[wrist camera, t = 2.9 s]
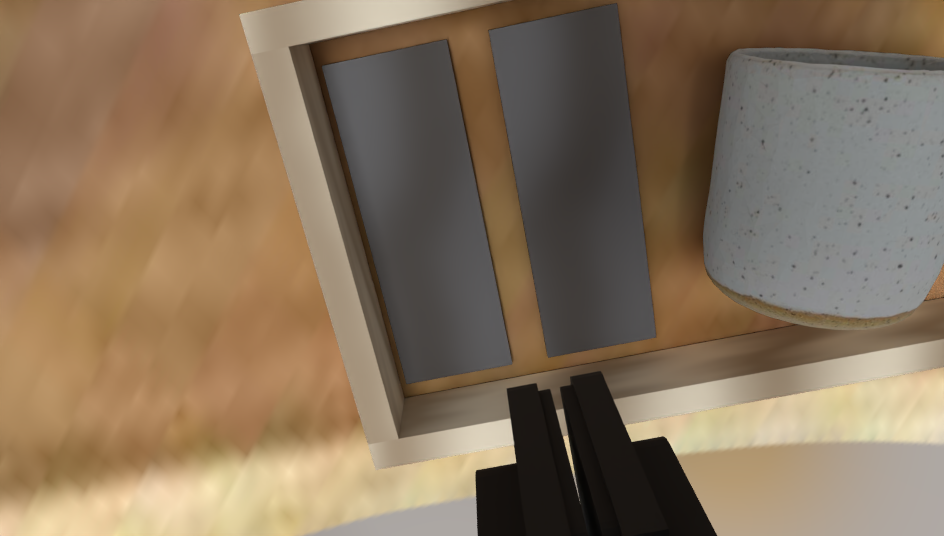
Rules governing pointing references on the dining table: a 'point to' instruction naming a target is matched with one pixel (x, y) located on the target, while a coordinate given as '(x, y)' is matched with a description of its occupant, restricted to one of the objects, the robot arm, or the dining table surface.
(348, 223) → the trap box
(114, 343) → the dining table surface
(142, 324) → the dining table surface
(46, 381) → the dining table surface
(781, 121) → the ceramic mug
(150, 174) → the dining table surface
